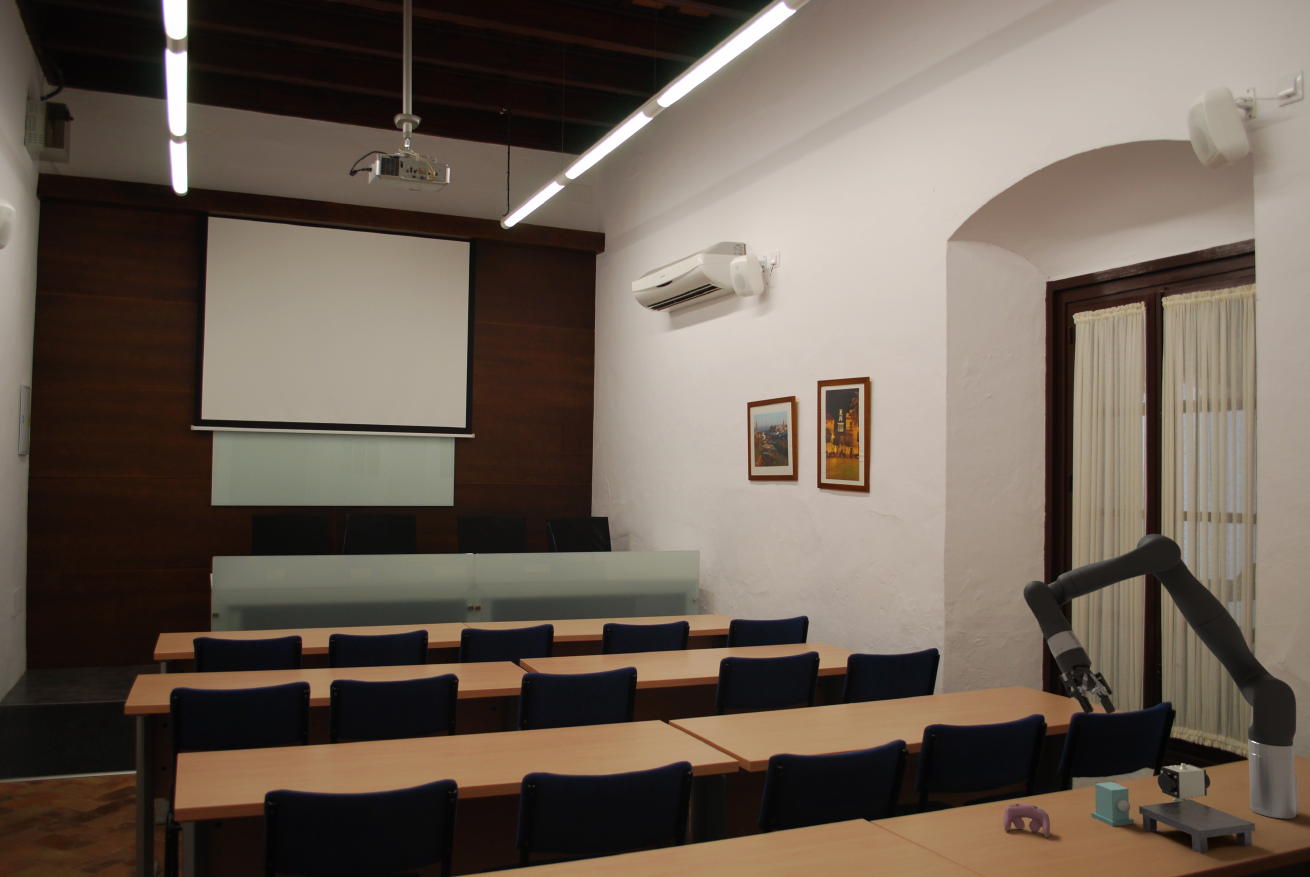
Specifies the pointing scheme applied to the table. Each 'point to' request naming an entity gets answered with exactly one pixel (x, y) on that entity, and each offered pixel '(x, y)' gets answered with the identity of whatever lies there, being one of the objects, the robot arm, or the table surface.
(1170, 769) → the pneumatic valve
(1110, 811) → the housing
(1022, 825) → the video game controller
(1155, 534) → the robot arm
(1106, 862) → the table surface
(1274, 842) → the table surface
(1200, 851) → the stand
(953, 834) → the table surface
